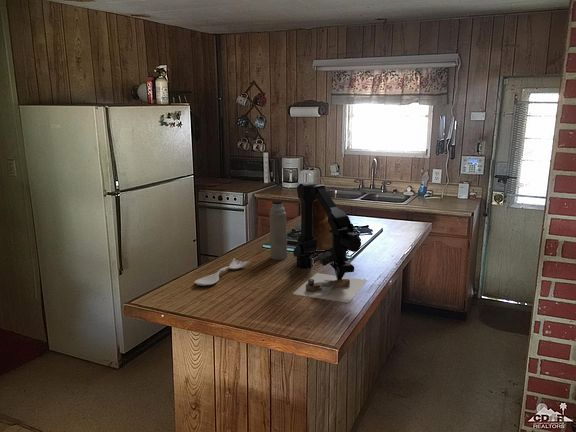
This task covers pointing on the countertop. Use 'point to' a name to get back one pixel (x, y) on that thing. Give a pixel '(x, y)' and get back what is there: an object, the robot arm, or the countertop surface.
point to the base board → (333, 289)
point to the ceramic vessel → (321, 227)
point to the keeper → (327, 287)
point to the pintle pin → (310, 282)
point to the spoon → (215, 277)
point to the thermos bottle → (278, 231)
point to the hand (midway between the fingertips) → (338, 281)
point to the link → (337, 284)
